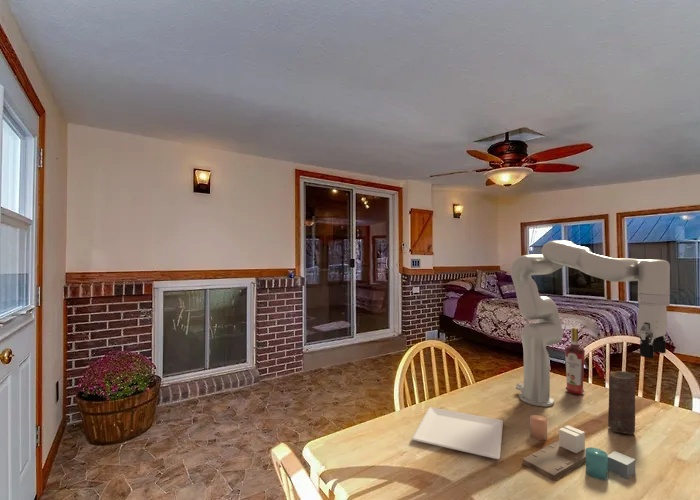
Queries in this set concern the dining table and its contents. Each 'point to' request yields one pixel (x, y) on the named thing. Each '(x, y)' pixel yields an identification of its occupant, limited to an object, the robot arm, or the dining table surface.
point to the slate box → (621, 465)
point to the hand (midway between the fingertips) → (653, 354)
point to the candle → (622, 402)
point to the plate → (461, 432)
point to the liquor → (574, 365)
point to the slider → (572, 439)
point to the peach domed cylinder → (538, 427)
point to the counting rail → (554, 461)
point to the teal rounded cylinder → (596, 463)
